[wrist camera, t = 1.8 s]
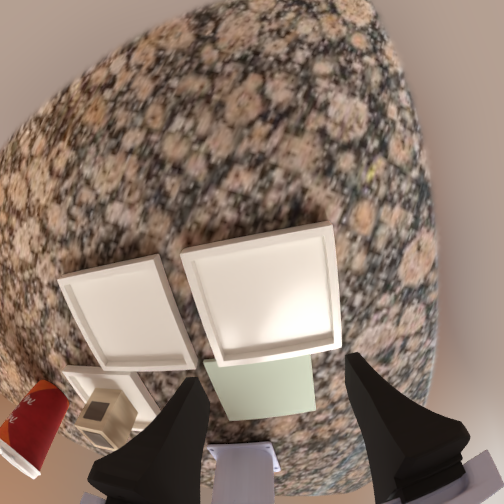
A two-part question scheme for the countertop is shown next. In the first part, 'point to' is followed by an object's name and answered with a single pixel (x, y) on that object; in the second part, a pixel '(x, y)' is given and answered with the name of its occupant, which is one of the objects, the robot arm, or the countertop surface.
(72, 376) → the dish
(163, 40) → the countertop surface
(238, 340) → the dish
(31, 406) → the paper cup
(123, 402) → the letter block
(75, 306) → the dish
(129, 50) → the countertop surface
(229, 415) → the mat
